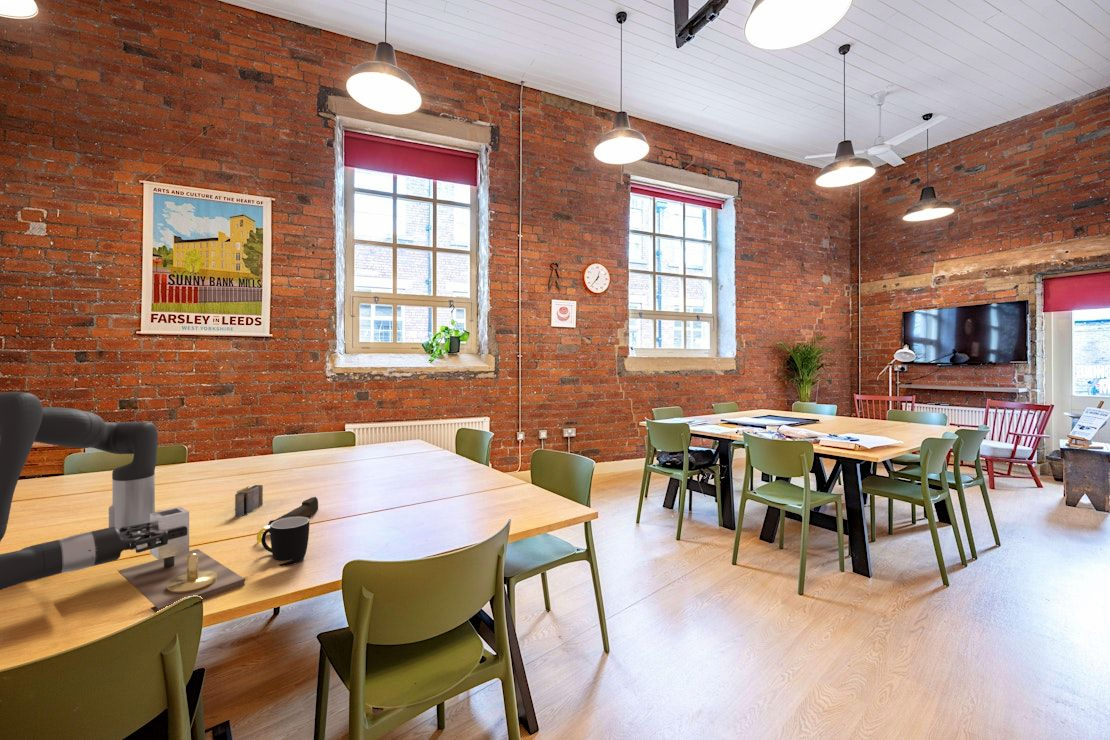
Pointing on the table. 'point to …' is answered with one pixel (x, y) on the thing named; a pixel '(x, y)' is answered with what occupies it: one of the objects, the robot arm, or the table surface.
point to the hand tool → (302, 510)
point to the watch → (261, 532)
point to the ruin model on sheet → (248, 499)
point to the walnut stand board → (160, 572)
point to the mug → (288, 539)
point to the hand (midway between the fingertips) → (181, 527)
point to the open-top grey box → (167, 522)
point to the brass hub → (191, 578)
